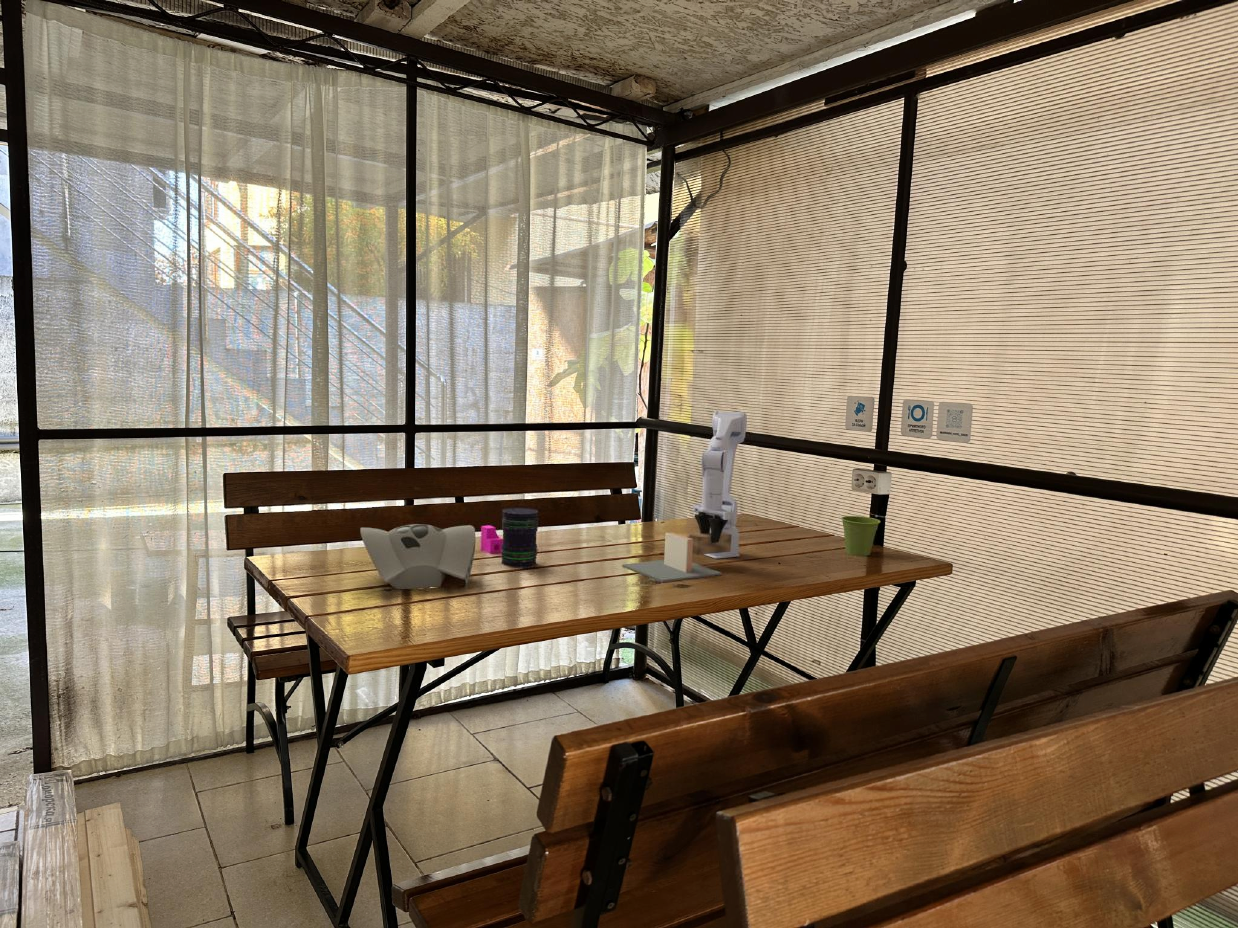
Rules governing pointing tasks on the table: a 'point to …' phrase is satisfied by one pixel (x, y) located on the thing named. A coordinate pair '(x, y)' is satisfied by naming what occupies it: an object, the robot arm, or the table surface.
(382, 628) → the table surface
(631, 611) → the table surface
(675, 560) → the tile
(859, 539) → the plant pot
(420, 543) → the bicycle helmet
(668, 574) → the slate mat
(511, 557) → the storage jar
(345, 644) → the table surface
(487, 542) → the toy block
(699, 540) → the brown wooden block
